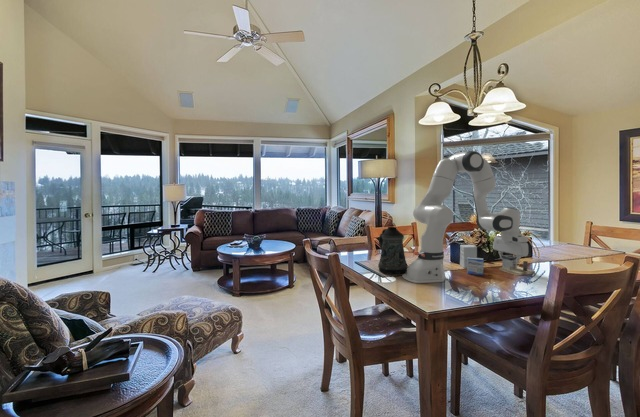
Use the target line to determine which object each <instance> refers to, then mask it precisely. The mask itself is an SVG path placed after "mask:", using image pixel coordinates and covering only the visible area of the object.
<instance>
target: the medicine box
mask: <svg viewBox="0 0 640 417" xmlns="http://www.w3.org/2000/svg"><path fill="white" fill-rule="evenodd" d="M484 259H485V258H482V257H477V258H472V257H468V259H467V268H466V274H468V275H474V276H475V275H476V276H483V275H484V261H485V260H484Z"/></svg>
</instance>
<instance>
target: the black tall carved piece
mask: <svg viewBox="0 0 640 417" xmlns="http://www.w3.org/2000/svg"><path fill="white" fill-rule="evenodd" d="M404 238H405V235H404V234H403V233H402V232H400V231H399V230H398V229H397V227H396V226H395V227H394V226H387V228H384V229H382V231H381V233H380V234H379V237H378V245H379V248H380V251H381V253H380V256H379V261H378V264H377V265H378V266H377V267H378V271H379V272H380V273H382V274H385V275H393V276H394V275H395V276H398V275H403V274H407V268H408V266H409V264H408V263H407V260H406V255H405V250H404V248H405V247H404V242H403V240H404Z"/></svg>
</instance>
